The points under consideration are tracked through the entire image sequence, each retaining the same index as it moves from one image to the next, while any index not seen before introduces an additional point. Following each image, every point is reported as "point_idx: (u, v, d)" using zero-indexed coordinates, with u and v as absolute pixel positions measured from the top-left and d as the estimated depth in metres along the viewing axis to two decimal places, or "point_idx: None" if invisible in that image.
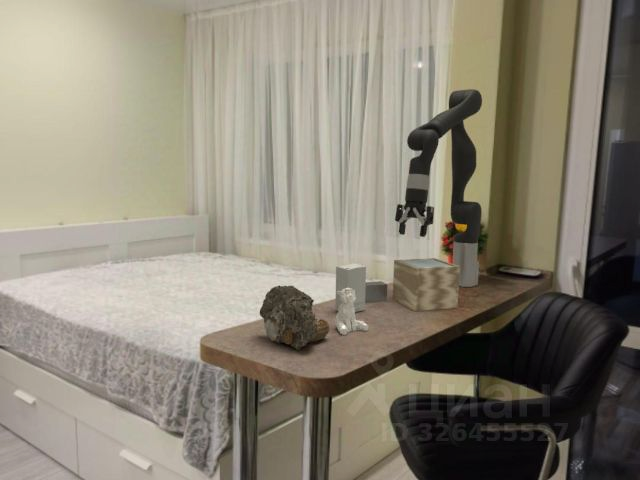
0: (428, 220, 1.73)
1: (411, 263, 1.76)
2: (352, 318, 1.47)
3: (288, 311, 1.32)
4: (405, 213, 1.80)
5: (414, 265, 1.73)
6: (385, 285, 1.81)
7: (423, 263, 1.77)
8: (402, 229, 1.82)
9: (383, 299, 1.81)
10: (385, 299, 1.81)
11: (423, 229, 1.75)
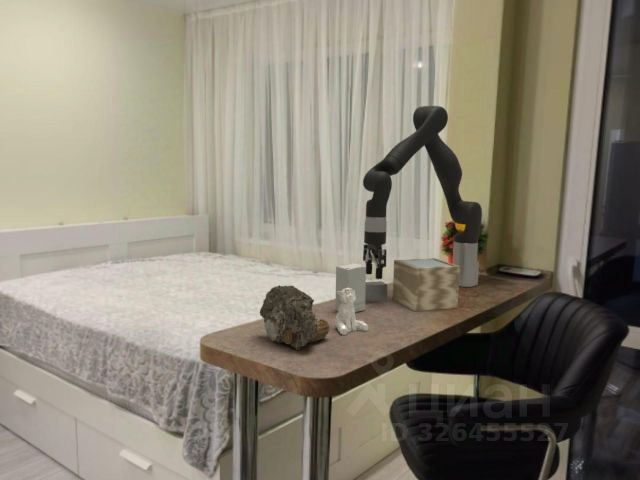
0: (379, 263, 1.74)
1: (411, 263, 1.76)
2: (352, 318, 1.47)
3: (288, 310, 1.32)
4: (367, 254, 1.82)
5: (414, 265, 1.73)
6: (385, 285, 1.81)
7: (423, 263, 1.77)
8: (368, 269, 1.85)
9: (383, 299, 1.81)
10: (385, 299, 1.81)
11: (377, 272, 1.76)
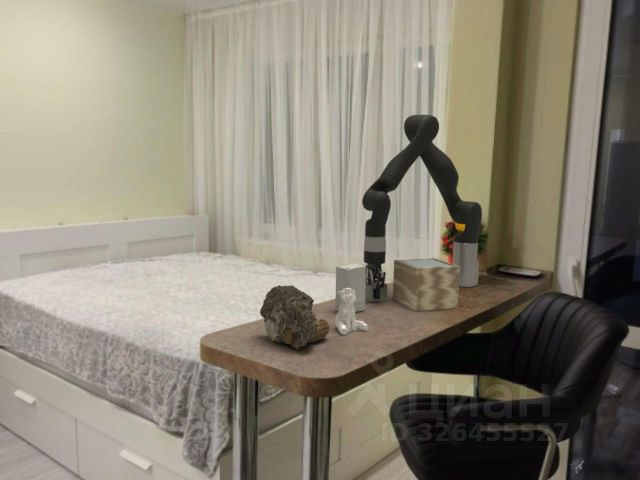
0: (377, 285, 1.76)
1: (411, 263, 1.76)
2: (352, 318, 1.47)
3: (288, 310, 1.32)
4: (367, 274, 1.83)
5: (414, 265, 1.73)
6: (385, 285, 1.81)
7: (423, 263, 1.77)
8: None
9: (383, 299, 1.81)
10: (385, 299, 1.81)
11: (375, 292, 1.79)
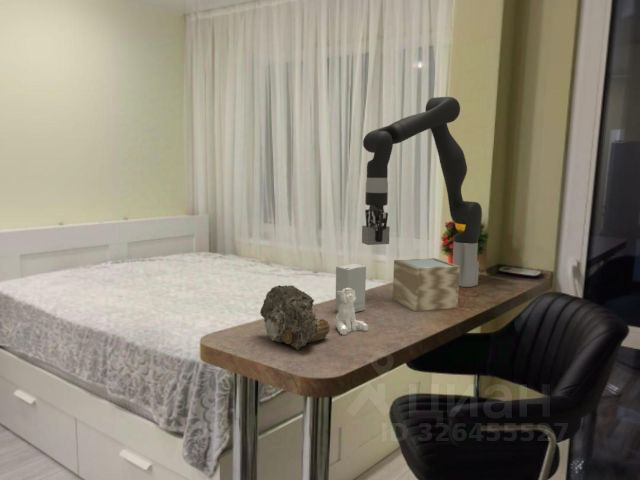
0: (379, 226, 1.74)
1: (411, 263, 1.76)
2: (352, 318, 1.47)
3: (288, 310, 1.32)
4: (369, 217, 1.80)
5: (414, 265, 1.73)
6: (387, 227, 1.78)
7: (423, 263, 1.77)
8: None
9: (385, 242, 1.78)
10: (387, 242, 1.79)
11: (377, 234, 1.76)
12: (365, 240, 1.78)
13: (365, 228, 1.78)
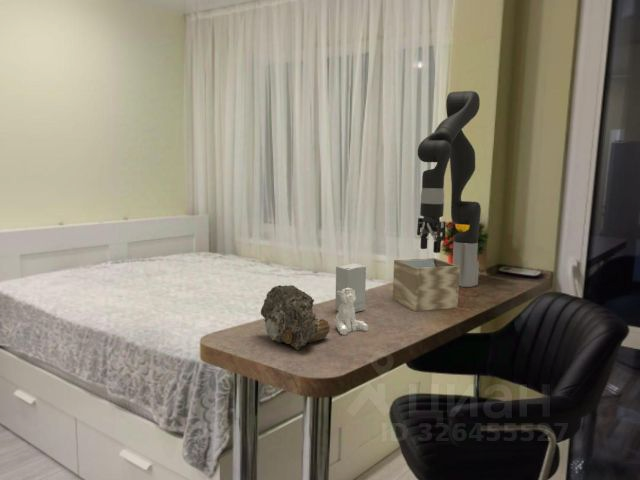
0: (438, 236, 1.67)
1: None
2: (352, 318, 1.47)
3: (288, 310, 1.32)
4: (422, 228, 1.75)
5: None
6: None
7: None
8: (423, 243, 1.78)
9: None
10: None
11: (436, 245, 1.69)
12: None
13: None
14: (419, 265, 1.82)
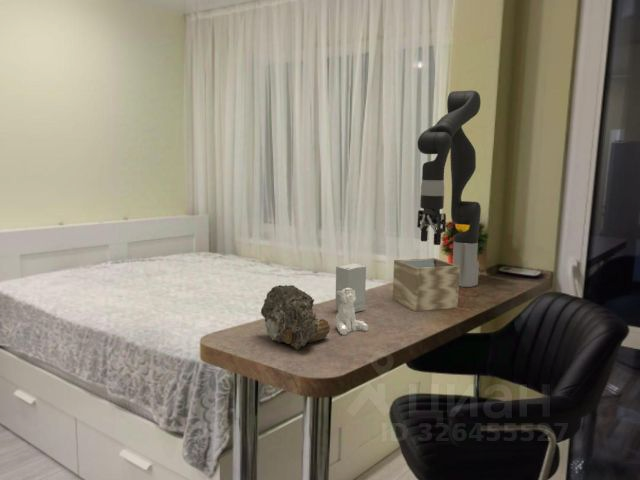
0: (438, 228, 1.66)
1: None
2: (352, 318, 1.47)
3: (288, 310, 1.32)
4: (422, 220, 1.75)
5: None
6: None
7: None
8: (423, 236, 1.77)
9: None
10: None
11: (436, 237, 1.69)
12: None
13: None
14: (419, 266, 1.82)
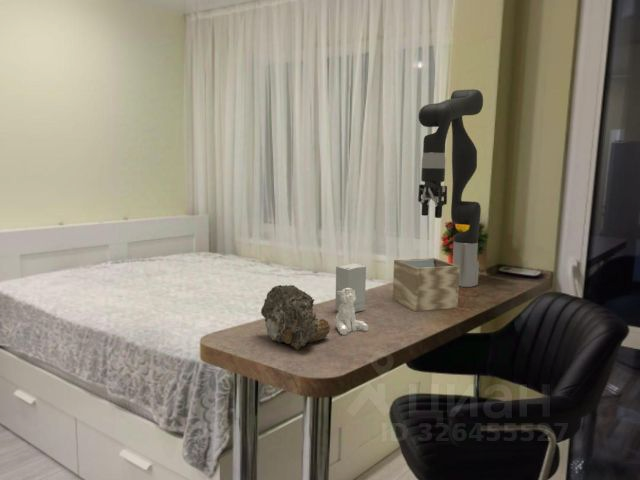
0: (439, 201, 1.66)
1: None
2: (352, 318, 1.47)
3: (288, 310, 1.32)
4: (423, 194, 1.74)
5: None
6: None
7: None
8: (424, 210, 1.76)
9: None
10: None
11: (437, 210, 1.68)
12: None
13: None
14: (419, 266, 1.82)
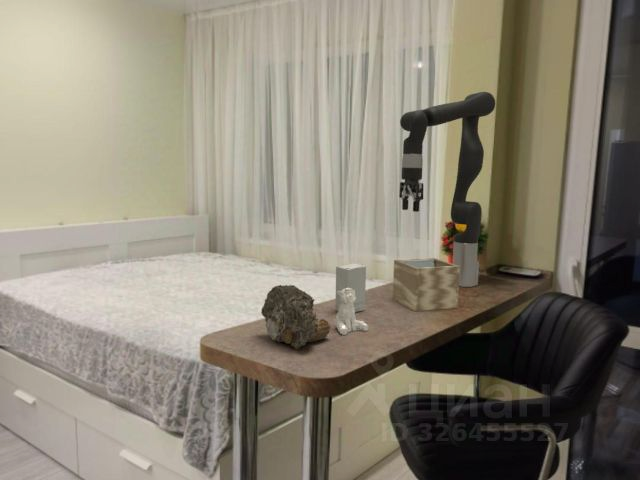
0: (417, 196, 1.87)
1: None
2: (352, 318, 1.47)
3: (288, 310, 1.33)
4: (403, 190, 1.96)
5: None
6: None
7: None
8: (404, 205, 1.98)
9: None
10: None
11: (415, 204, 1.90)
12: None
13: None
14: (418, 266, 1.82)
